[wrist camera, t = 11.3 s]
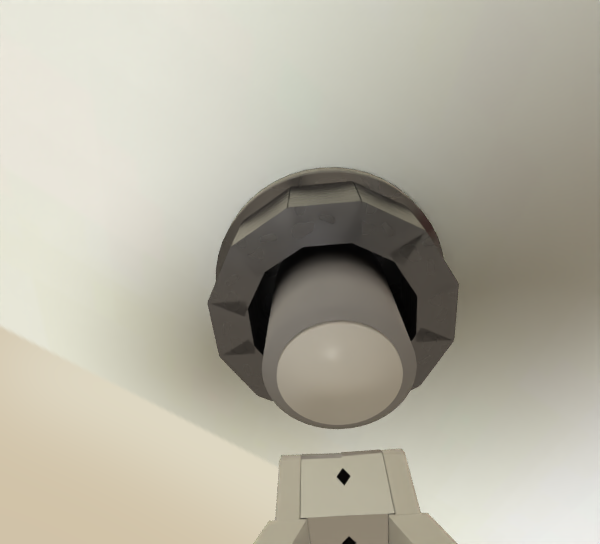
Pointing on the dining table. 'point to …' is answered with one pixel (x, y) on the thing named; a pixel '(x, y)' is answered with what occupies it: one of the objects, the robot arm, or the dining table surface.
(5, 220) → the dining table surface
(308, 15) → the dining table surface
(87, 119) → the dining table surface
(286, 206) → the faceted grey ring
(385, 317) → the grey cylinder
